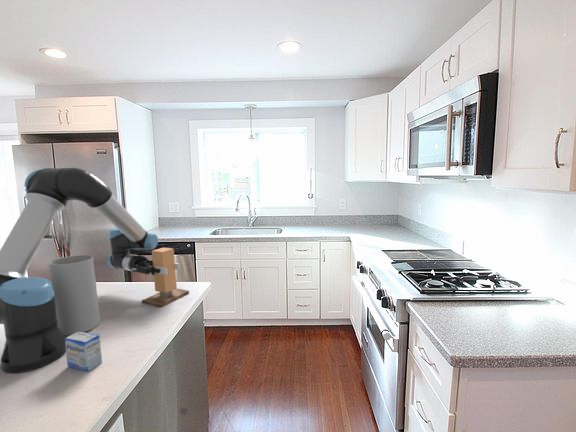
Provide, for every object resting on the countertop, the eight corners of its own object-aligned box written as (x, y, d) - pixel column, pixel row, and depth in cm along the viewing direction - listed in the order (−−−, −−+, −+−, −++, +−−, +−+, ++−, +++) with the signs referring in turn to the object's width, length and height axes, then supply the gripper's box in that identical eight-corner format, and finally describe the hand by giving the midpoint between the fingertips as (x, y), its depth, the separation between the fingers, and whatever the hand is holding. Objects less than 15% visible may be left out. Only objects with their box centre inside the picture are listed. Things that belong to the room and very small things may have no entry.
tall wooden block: (176, 288, 133) (173, 248, 131) (165, 293, 128) (162, 252, 125) (166, 286, 136) (163, 247, 133) (155, 291, 130) (151, 250, 128)
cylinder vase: (105, 317, 114) (98, 253, 111) (91, 334, 102) (83, 263, 99) (68, 321, 112) (60, 256, 108) (49, 339, 100) (40, 266, 96)
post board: (161, 307, 122) (159, 287, 121) (142, 302, 127) (140, 284, 126) (189, 293, 137) (187, 275, 136) (171, 289, 141) (170, 273, 140)
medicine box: (67, 367, 84) (63, 338, 83) (82, 358, 88) (78, 330, 87) (88, 372, 82) (85, 342, 81) (102, 362, 86) (99, 334, 85)
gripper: (153, 265, 147) (189, 270, 137) (117, 277, 130) (155, 284, 120) (152, 250, 146) (188, 254, 136) (115, 261, 129) (153, 266, 119)
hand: (173, 268), depth 128 cm, fingers closed on tall wooden block, 6 cm apart
